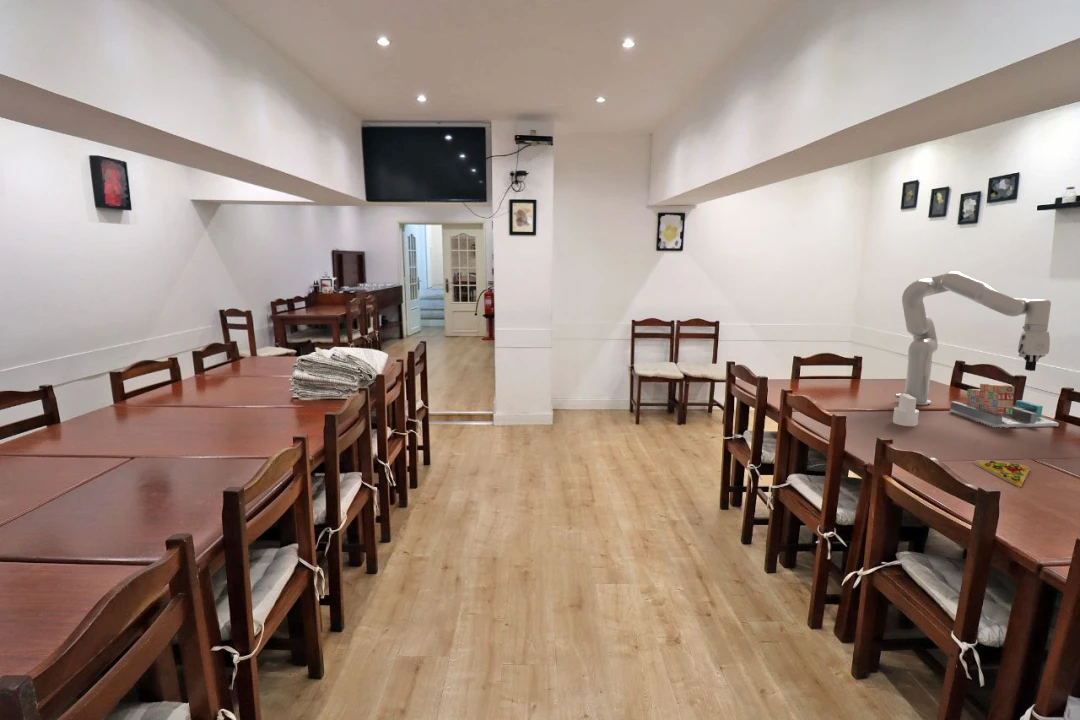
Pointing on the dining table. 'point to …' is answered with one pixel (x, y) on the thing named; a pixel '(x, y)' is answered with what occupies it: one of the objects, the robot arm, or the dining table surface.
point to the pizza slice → (1005, 470)
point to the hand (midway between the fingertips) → (1029, 370)
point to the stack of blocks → (992, 398)
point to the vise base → (1014, 421)
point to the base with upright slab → (906, 411)
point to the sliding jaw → (1026, 411)
